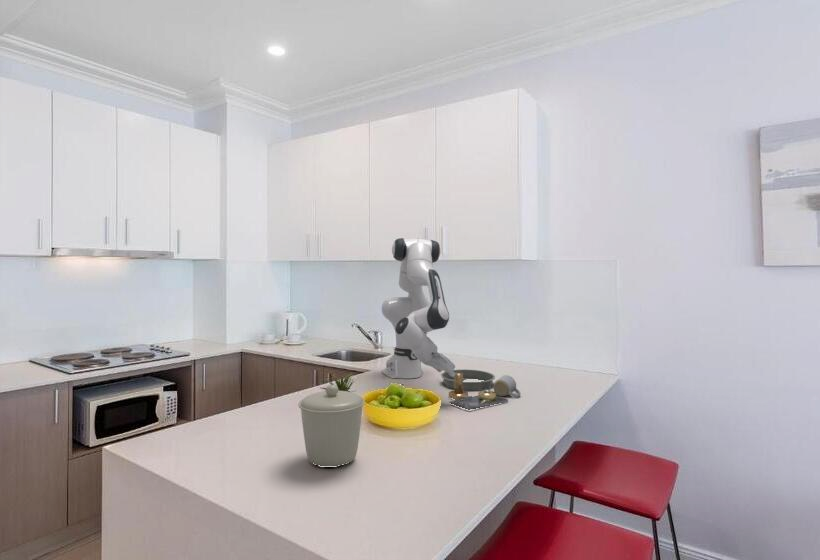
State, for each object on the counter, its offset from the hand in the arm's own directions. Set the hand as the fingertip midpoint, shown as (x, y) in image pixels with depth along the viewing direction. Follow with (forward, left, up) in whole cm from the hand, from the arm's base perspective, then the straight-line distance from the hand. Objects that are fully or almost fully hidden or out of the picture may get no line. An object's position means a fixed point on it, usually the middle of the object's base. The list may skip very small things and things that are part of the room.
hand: (446, 373), depth 188 cm
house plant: (-4, -45, -11) cm, 47 cm away
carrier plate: (+12, +7, -11) cm, 17 cm away
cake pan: (-13, +24, -11) cm, 29 cm away
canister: (+28, -64, -11) cm, 71 cm away
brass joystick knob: (+1, +6, -11) cm, 12 cm away
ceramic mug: (+10, +25, -11) cm, 29 cm away
